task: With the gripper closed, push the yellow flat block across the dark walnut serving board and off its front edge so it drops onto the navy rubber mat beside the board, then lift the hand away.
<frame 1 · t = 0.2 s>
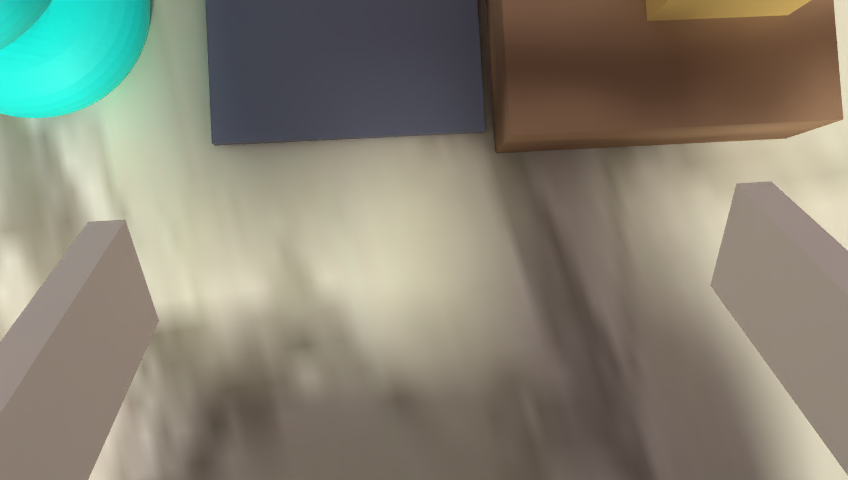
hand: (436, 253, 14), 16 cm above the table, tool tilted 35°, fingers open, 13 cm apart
donuts: (52, 19, 30), on the table
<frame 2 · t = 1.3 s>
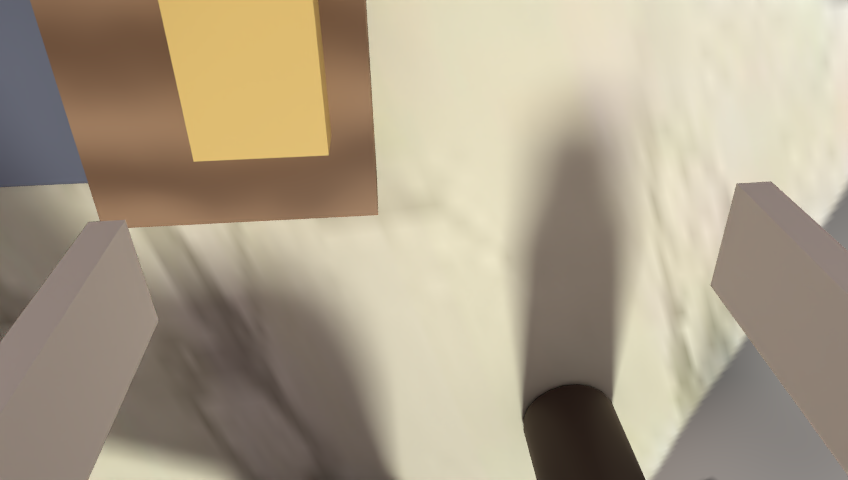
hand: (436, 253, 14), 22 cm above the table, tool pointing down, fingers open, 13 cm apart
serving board: (225, 24, 32), on the table
yellow flat block: (254, 43, 29), point 4 cm above the table, touching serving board
bottle: (566, 413, 48), on the table
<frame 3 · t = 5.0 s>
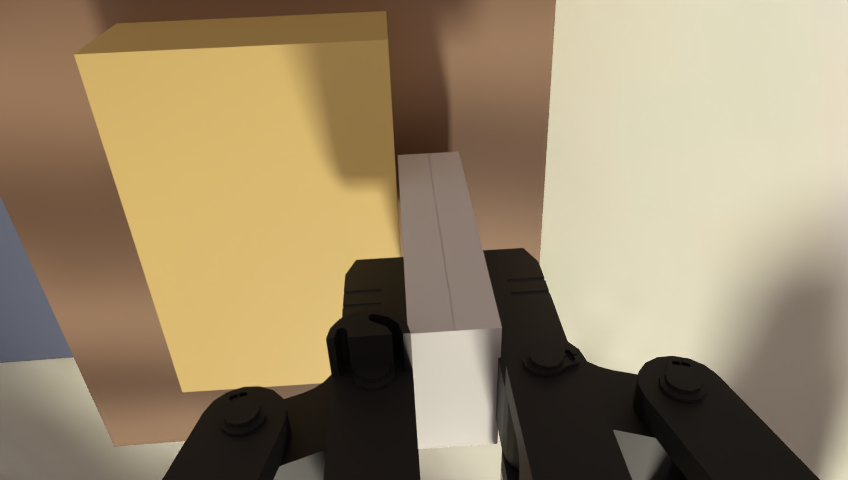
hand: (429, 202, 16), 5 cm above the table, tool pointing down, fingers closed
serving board: (295, 134, 20), on the table
yellow flat block: (282, 194, 17), point 4 cm above the table, touching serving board
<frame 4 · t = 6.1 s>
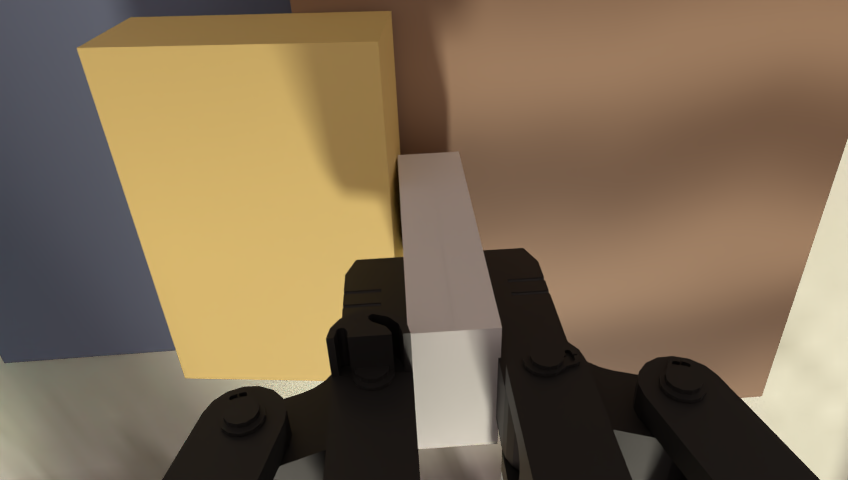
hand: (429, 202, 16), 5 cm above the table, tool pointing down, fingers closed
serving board: (549, 119, 21), on the table
mat: (113, 148, 20), on the table
yellow flat block: (289, 190, 17), point 4 cm above the table, tilted 7°, touching gripper
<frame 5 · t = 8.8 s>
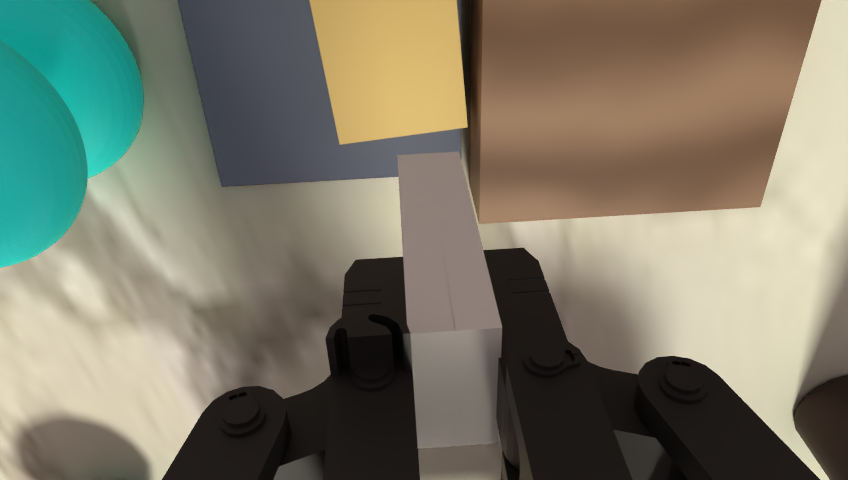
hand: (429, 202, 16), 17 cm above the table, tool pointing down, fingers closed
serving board: (619, 6, 30), on the table
mat: (324, 21, 30), on the table
donuts: (42, 69, 30), on the table
yellow flat block: (388, 24, 29), resting on mat
bottle: (837, 403, 47), on the table
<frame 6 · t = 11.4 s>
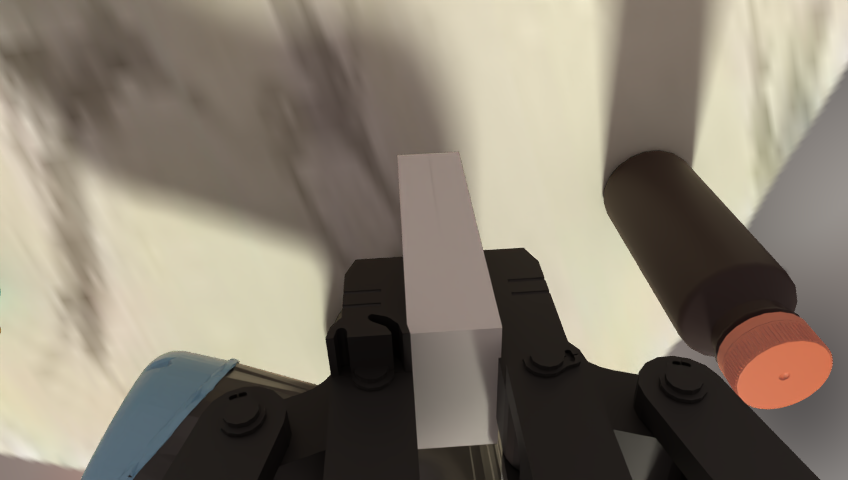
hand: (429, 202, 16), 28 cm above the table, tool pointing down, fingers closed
bottle: (645, 187, 50), on the table
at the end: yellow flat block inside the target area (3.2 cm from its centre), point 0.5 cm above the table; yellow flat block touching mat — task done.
